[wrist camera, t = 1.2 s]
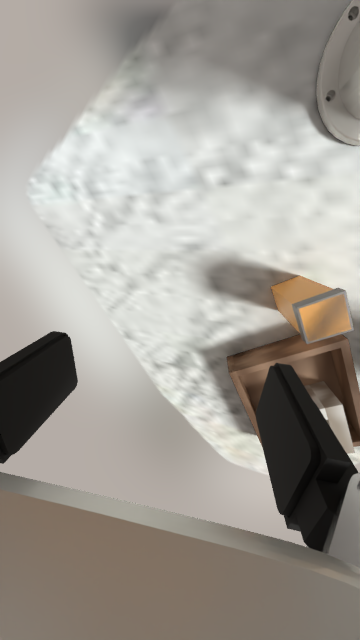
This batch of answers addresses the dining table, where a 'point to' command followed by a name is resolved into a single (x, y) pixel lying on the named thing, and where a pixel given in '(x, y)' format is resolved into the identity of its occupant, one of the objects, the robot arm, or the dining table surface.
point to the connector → (313, 308)
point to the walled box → (306, 380)
